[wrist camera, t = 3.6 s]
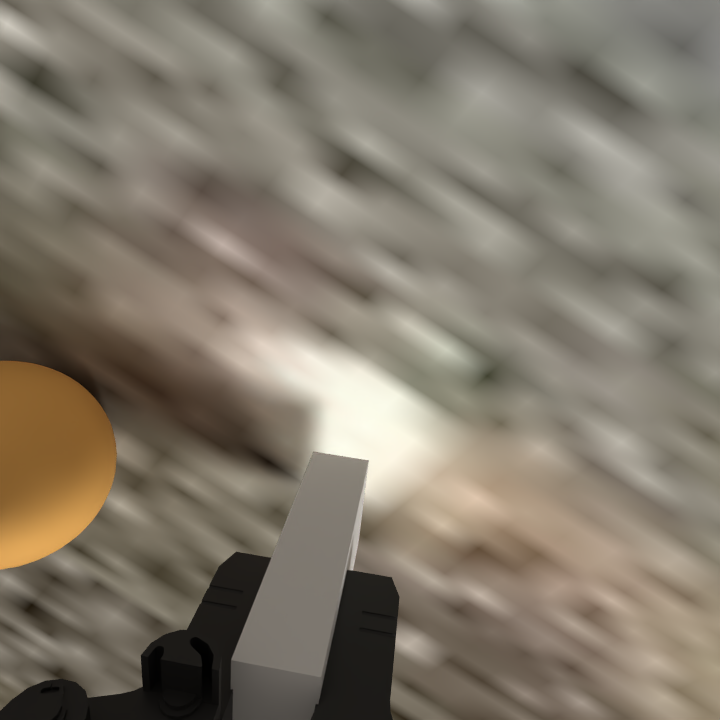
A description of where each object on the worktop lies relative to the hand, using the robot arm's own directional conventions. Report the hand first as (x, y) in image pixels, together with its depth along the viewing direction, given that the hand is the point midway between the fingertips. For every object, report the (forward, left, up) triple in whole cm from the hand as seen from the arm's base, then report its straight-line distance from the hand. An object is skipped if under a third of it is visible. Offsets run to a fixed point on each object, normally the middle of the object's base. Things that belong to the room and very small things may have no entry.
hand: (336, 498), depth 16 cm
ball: (-7, +6, +1) cm, 9 cm away
